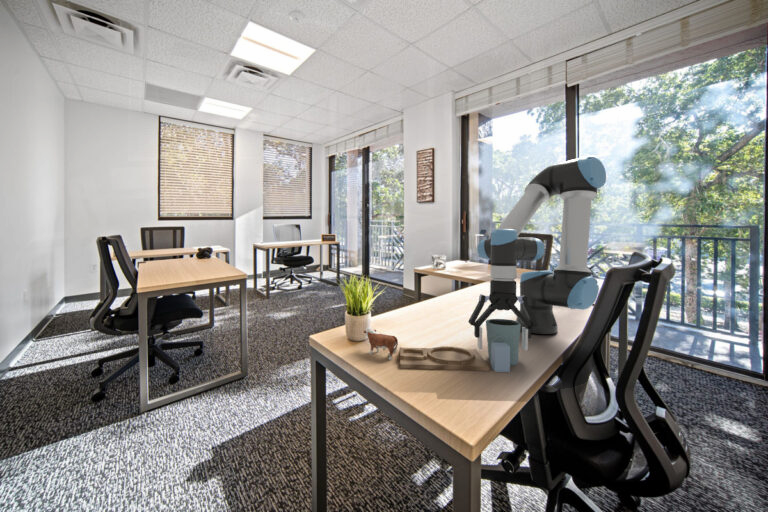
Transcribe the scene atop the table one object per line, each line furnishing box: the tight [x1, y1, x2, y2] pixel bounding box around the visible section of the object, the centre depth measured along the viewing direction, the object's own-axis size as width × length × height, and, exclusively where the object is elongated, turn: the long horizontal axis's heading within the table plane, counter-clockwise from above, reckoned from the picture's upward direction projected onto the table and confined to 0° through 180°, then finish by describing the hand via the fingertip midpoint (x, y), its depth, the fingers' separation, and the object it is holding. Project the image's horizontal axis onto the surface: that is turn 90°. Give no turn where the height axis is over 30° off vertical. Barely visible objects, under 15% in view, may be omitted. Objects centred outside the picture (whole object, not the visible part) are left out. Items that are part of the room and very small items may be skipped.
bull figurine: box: [363, 327, 399, 361], centre depth 102 cm, size 4×13×8 cm, turn 51°
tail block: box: [490, 343, 511, 373], centre depth 90 cm, size 4×4×7 cm
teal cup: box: [485, 318, 521, 367], centre depth 98 cm, size 10×10×12 cm
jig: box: [399, 345, 490, 372], centre depth 98 cm, size 25×16×2 cm, turn 87°
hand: (502, 348), depth 98 cm, fingers open, 13 cm apart
